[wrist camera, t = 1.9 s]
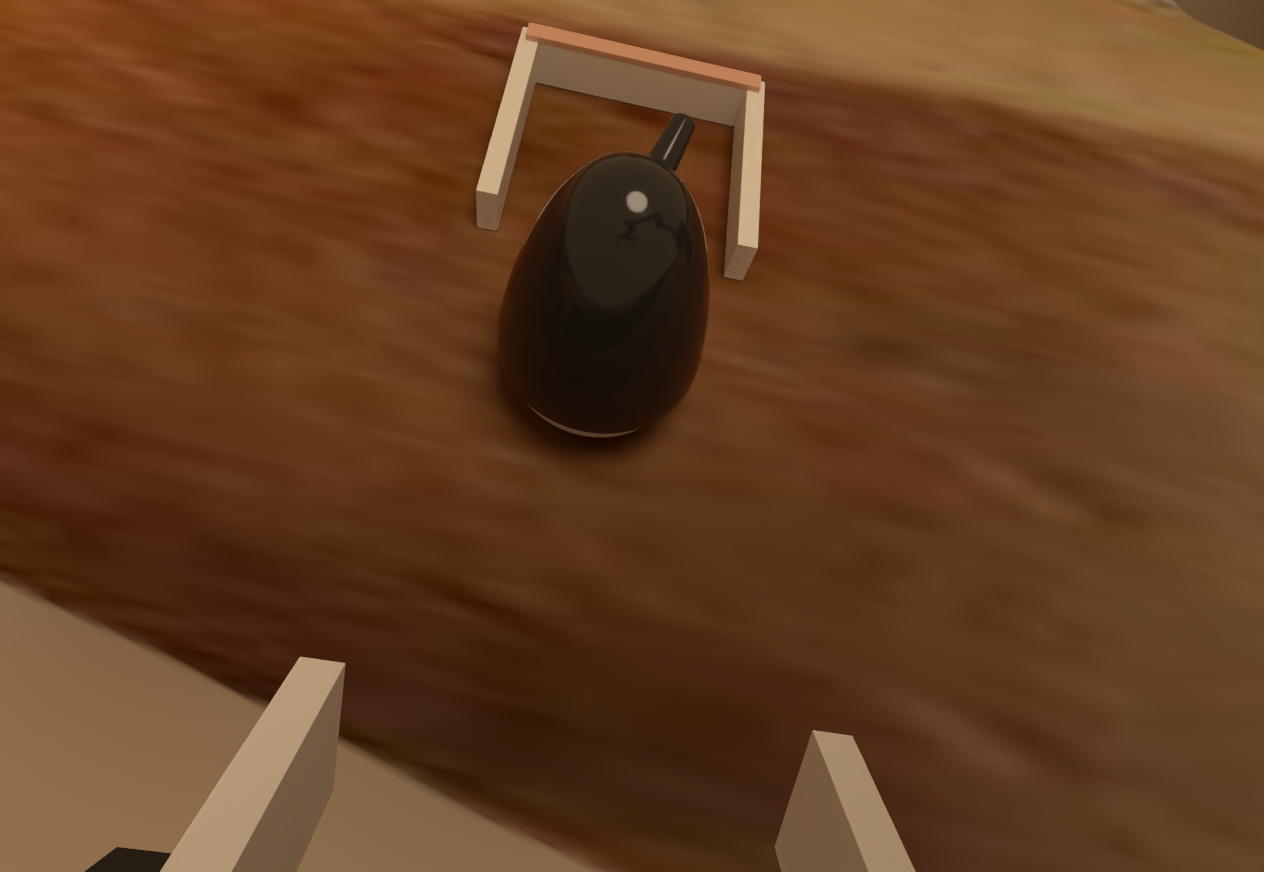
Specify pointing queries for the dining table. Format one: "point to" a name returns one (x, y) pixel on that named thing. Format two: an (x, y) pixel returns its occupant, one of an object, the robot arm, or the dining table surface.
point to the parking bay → (639, 83)
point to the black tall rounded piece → (610, 294)
